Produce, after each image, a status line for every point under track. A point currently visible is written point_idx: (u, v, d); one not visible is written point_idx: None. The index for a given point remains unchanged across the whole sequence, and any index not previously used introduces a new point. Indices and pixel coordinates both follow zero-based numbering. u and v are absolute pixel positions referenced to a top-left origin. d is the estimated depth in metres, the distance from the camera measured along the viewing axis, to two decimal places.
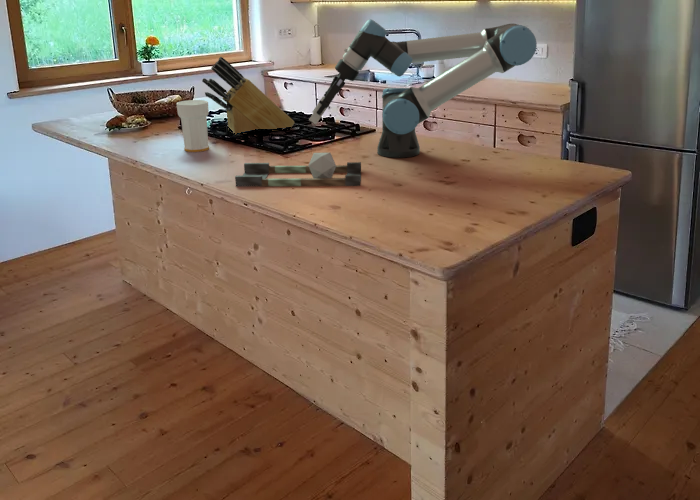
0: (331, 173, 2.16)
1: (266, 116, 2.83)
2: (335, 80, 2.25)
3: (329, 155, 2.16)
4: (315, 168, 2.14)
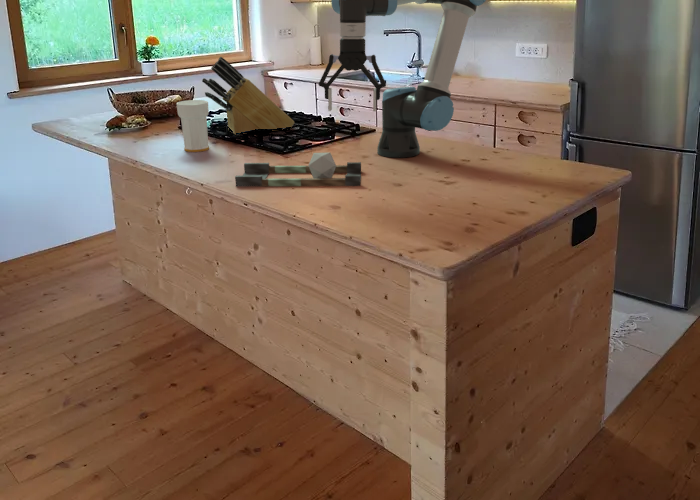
0: (331, 173, 2.16)
1: (266, 116, 2.84)
2: (359, 61, 2.05)
3: (329, 155, 2.16)
4: (315, 168, 2.14)
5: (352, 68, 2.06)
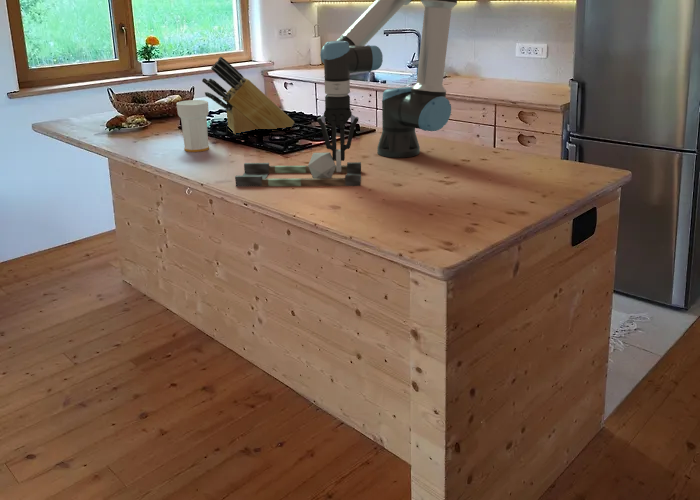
0: (331, 173, 2.16)
1: (266, 116, 2.84)
2: (343, 119, 2.11)
3: (329, 155, 2.16)
4: (314, 168, 2.14)
5: (338, 124, 2.11)
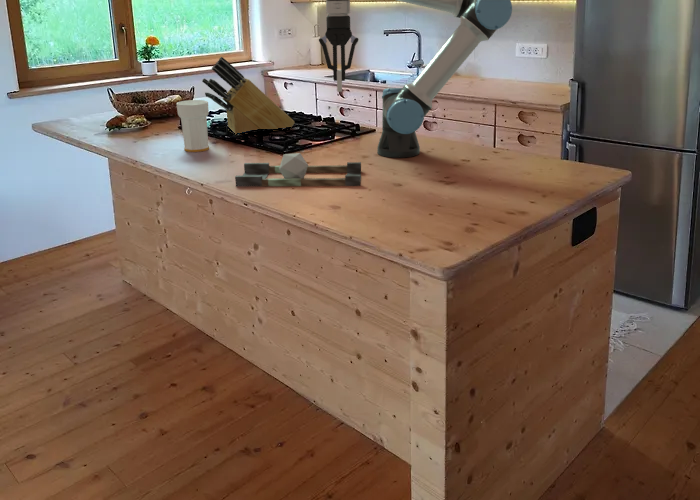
0: (304, 173, 2.16)
1: (266, 116, 2.83)
2: (344, 39, 2.20)
3: (300, 156, 2.16)
4: (288, 170, 2.13)
5: (338, 43, 2.21)
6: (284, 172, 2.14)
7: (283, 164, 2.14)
